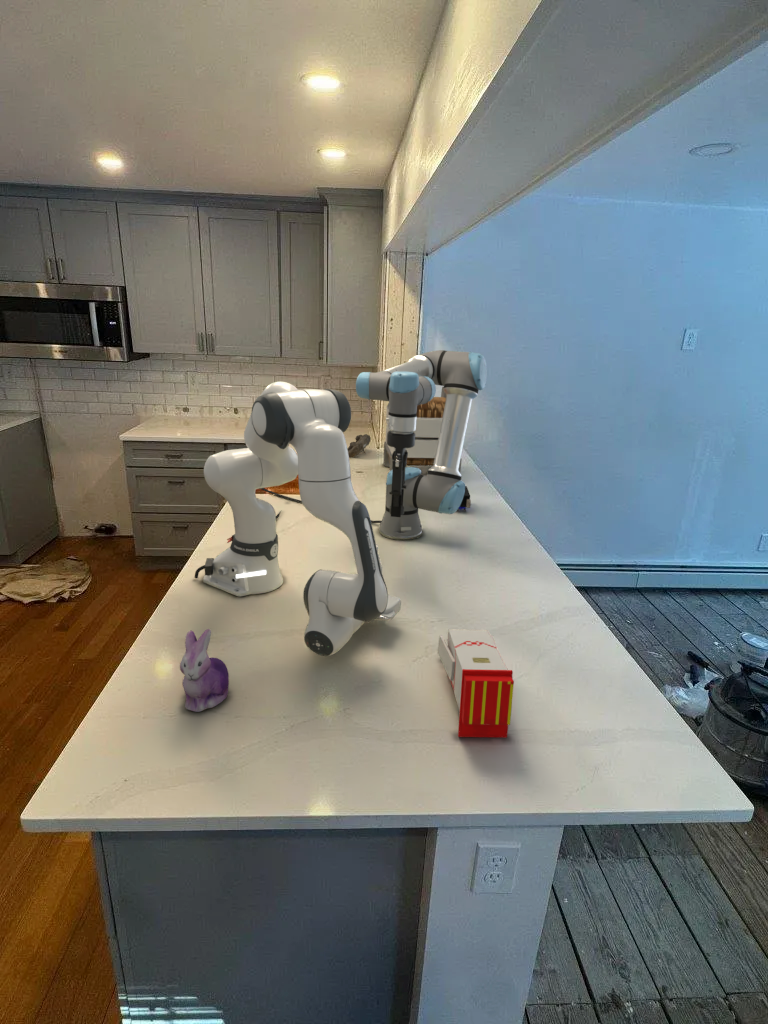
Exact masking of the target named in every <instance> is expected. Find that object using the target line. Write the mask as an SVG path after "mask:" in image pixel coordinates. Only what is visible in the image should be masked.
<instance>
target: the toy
mask: <svg viewBox="0 0 768 1024" xmlns="http://www.w3.org/2000/svg"><path fill="white" fill-rule="evenodd" d="M446 640H447V643H446V641H445V639H444V636H443V635H442V634H439V637H438V646H437V656H438V657H439V659H440V661H441V663H442V666H443V668H444V670H445V672H446V674H447V677H448V679H449V681H450V684H451V687H452V690H453V693H454V697H455V701H456V705H457V708H458V711H459V714H458V715H459V716H458V730H457V731H458V732H457V737H458V738H508V731H509V726H510V725H511V717H512V707H513V697H514V696H513V695H514V684H515V680H514V679H513V673H514V671H513V670H512V669H508V667H507V665H506V662H505V661H504V659H503V658H502V655H501V653H500V651H499V649H498V647H497V643H496V639H495V637H494V635H493V634H491V632H490V631H489V629H467V628H466V629H465V628H463V629H461V628H460V629H459V628H448V630H447V639H446Z"/></svg>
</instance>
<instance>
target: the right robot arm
mask: <svg viewBox="0 0 768 1024" xmlns="http://www.w3.org/2000/svg"><path fill="white" fill-rule="evenodd" d="M487 371H488V367H487V361H486V358H485V356H484V355H483V354H481V353H478V352H472V351H458V350H457V351H455V350H445V349H438V350H431V351H427V352H423V353H419V354H417V355H414V356H412V357H411V358H410V359H408V361H406V362H403V363H401V364H398V365H395V366H393V367H389V368H386V369H383V370H380V371H377V372H372V371H362V372H360V373H359V374H358V376H357V377H356V381H355V392H356V395H357V396H358V397H359V398H361V399H366V400H368V401H369V400H371V401H381V402H388V403H389V412H388V417H389V418H386V417H385V422H386V421H387V422H389V423H388V429H389V430H390V431H388V433H387V445H388V446H390V447H394V448H395V451H394V452H393V453H392V460H393V461H392V469H393V470H391V471H390V470H389V471H388V473H387V475H386V480H385V481H386V482H385V504H384V505H385V507H384V508H385V509H384V513H383V515H382V519H381V520H372V519H370V520H371V524H379V527H378V533H379V534H380V535H381V536H382V537H385V538H387V539H389V540H395V541H410V540H415V539H418V538H420V537H421V536H422V535H423V525H422V524H421V518H420V515H419V510H423V511H428V512H434V513H437V514H438V513H439V514H446V515H453V514H455V513H456V512H458V511H457V510H458V508H459V506H460V505H461V502H462V500H463V497H464V493H465V486H466V483H465V482H464V481H463V480H462V477H463V476H462V473H461V474H460V472H459V470H458V469H459V464H460V459H461V458H462V453H463V448H464V443H465V438H466V433H467V427H468V422H469V418H470V414H471V413H470V412H471V408H472V402H473V400H474V399H475V398H477V397H478V395H479V391H483V390H485V388H486V385H487V379H488V372H487ZM437 386H440V387H441V386H442V387H444V388H443V391H444V392H445V394H446V396H447V397H446V402H445V407H444V412H443V417H442V423H441V428H440V433H439V438H438V443H437V448H436V454H435V459H434V464H433V466H432V465H431V466H430V468H428V469H427V472H426V474H422V470H421V468H419V467H416V466H407V465H406V464H407V457H408V452H407V450H406V448H411V447H413V446H414V445H415V433H414V431H415V430H416V420H417V406H418V405H421V404H426V403H427V402H429V401H431V400H432V399H433V397H436V393H437ZM258 490H261V491H264V492H267V493H269V494H271V495H274V496H277V497H280V498H283V499H286V500H290V501H293V502H297V503H300V504H303V503H302V501H301V499H297V498H293V497H290V496H287V495H283V494H280V493H277V492H274V491H272V490H269V489H267V488H259V489H258ZM390 506H391V514H390V513H389V511H390ZM401 506H404V514H403V515H401Z"/></svg>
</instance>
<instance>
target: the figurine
mask: <svg viewBox="0 0 768 1024" xmlns="http://www.w3.org/2000/svg"><path fill="white" fill-rule="evenodd" d="M211 636H212V630H211V628H207V629H205V630H204V631H203V632H202V633H201V635H200V636H199V638H198V639H197V635H196V633H195V632H194V631H193V630H189V631H188V632H187V633H186V635H185V640H184V641H185V642H184V644H185V645H184V648H185V652H184V653H183V656H182V658H181V660H180V662H179V670H180V672H181V673H182V675H184V677H183V679H182V688H183V691H184V694H185V697H186V699H185V702H184V703H185V704H184V707H185V709H186V710H188V711H192V712H195V713H196V712H202V711H205V710H207V709H212V708H215V707H217V706H218V705H219V704H221V703H222V702H223V701H225V700H226V699H227V698H228V694H229V685H230V679H229V678H230V675H229V670H228V667H227V664H225V662H224V661H223V660H222V659H220V658H218V657H210V656H209V654H208V648H209V644H210V641H211Z"/></svg>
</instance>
